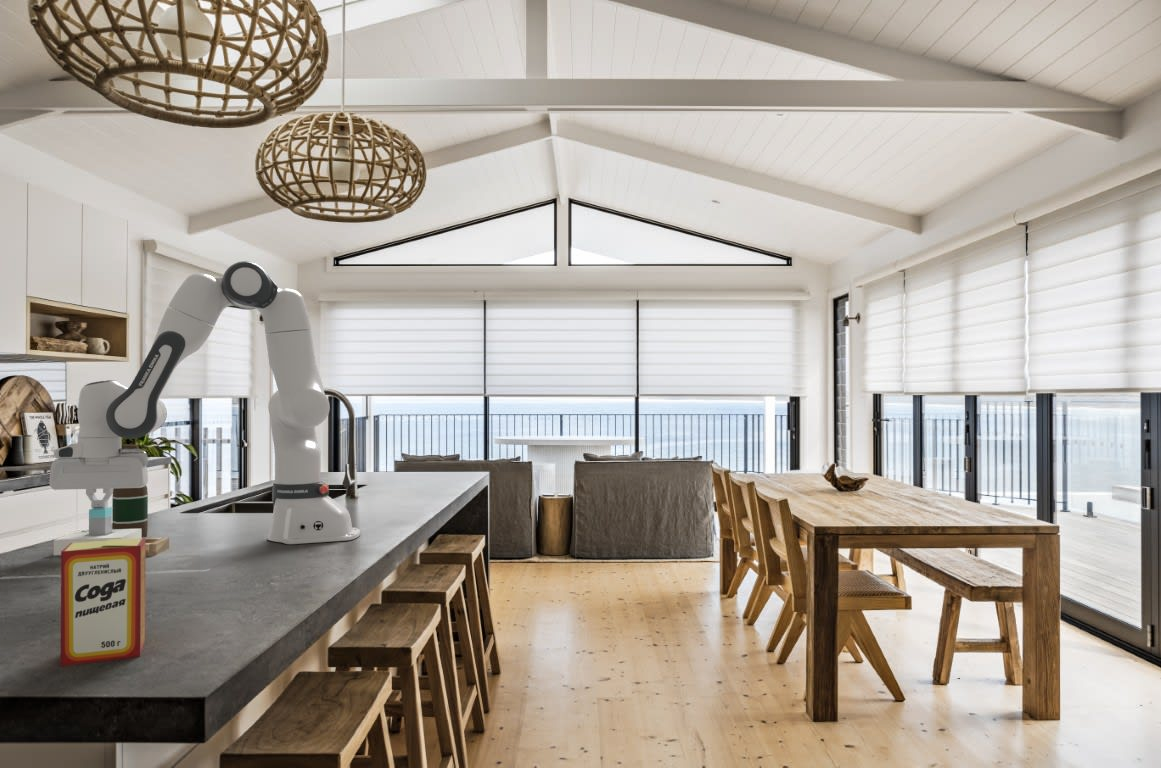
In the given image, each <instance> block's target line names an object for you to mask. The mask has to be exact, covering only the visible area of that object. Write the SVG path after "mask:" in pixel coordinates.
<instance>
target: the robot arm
mask: <svg viewBox="0 0 1161 768" xmlns="http://www.w3.org/2000/svg"><path fill="white" fill-rule="evenodd" d="M226 308H232V309H239V310H246V311H247V310H250V311H251V310H257V311H258V312H259V313H260V315H261V317H262V320H263V321H262V322H263V325H264V326H263V327H264V333H265V342H266V349H267V358H268V365H269V367H270V369H271V372H272V374H273V377H274V380H275V384H276V386H277V387H276V388H277V391H275V392H274V393H273V394H272V395H271V396H270V399H269V401H268V405H267V406H268V407H267V408H268V414H269V418H270V427H271V436H272V441H273V447H274V449H273V450H274V483H273V484H272V485H273V486H272V493H271V495H272V497H271V499H272V505H273V513H272V520H271V525H270V529H269V533H268V536H267V540H268V541H271V542H275V543H283V544H284V545H285V544H286V545H298V544H311V543H312V544H313V543H327V542H343V541H345V542H346V541H351V540H355V539H357V538H359V536H360V535H361V530H360V528H359V527H358V528H357V527H353V526H352V524H353V523H352V519H351V515H350V512H349V510H348V509H347V507H345V506H343V505H342V504H340V503H339V502H338V501H336V500H335V499H333V498H332V497H331V496H329V493H330V489H329V488H330V487H329V483H326V482H324V481H322V480H321V479H322V478H321V477H322V476H321V472H322V471H321V463H322V462H321V459H322V458H321V449H320V446H319V444H318V437H317V433H316V427H317V426H319V425H320V424H323V422H324V421H325V420H326V419H327V418H328V416H329V413H330V406H331V405H330V401H329V399H328V397H327V395H326V393H325V390H324V385H323V382H322V379H321V375H320V372H319V370H318V369H319V368H318V366H317V361H316V357H315V350H314V341H313V335H312V327H311V320H310V316H309V312H308V309H307V305H306V302H305V299H304V296H303V295H302V293H300V292H299V291H297V290H296V289H292V288H287V287H284V288H283V287H282V288H281V287H278V285H277V284H276V282H275V281H274V280H273V278H272V277H271V276H270V275H269V273H268V272H267V271H266V270H265V269H264V267H262V266H261V265H259V264H258V263H256V262H252V261H248V260H247V261H245V260H244V261H238V262H235V263H234V264H231V265H229V267H228V268H227V269H226V270H225V271H224V274H223V276H221V277H215V276H212V275H210V274H208V273H207V274H206V273H204V272H203V273H202V272H201V273H200V272H197V273H192V274H190V275H189V276H188V277H187V278H185V280H184V281H183V282H182V284H181V285H180V286H179V288H178V289H177V291H176V292H175V293H174V295H173V296H172V298H171V300H170V302H169V304H168V306H167V308H166V309H165V312H164V313H163V316H162V318H161V321H160V323H159V326H158V329H157V332H156V335H155V338H154V339H153V343H152V345H151V347H150V350H149V352H148V354H147V356H146V357H145V359H144V361H143V362H142V365H141V366H140V368H139V369H138V372H137V373H136V375H135V377H134V379H133V380H132V383H131V384H130V385H129V387H127V386H125V385H123V384H121V383H120V382H119V381H117V380H113V379H111V380H109V379H108V380H100V381H95V382H94V381H92V382H89V383H86V384H85V385H83V386H82V388H81V390H80V392H79V397H78V405H77V420H78V421H77V422H78V424H79V431H78V434H77V442H76V443H70V444H68V445H66V446H63V447H59V448H56V449H54V451H53V457H54V458H55V459H54V460H53V461H52V463H51V466H50V471H49V482H48V483H49V487H50V488H51V489H52V490H55V491H56V490H60V491H61V490H62V491H63V490H64V491H65V490H85V495H86V496H87V497H88V500H89V501H90V503H91V504H90V505H91V506H90V509H93V508H107V507H109V500H110V498H111V497H112V496H113V489H114V488H141V487H144V486H145V485H146V486H147V484H148V483H149V478H148V477H149V476H148V474H149V473H148V468H147V465H148V454H147V452H146V451H144V450H142V449H141V448H139V449H122V447H123V445H122V440H123V439H128V440H135V439H136V440H137V439H140V438H142V437H144V436H146V435H149V434H151V433H153V432H156V431H158V430H159V429H160V428H161V427H162V426H163V425H164V423H166V419H167V415H168V413H167V408H166V406H165V404H164V402H163V401H162V400H160V396H161V395H162V392H163V391H164V389H165V387H166V385H167V383H168V381H169V379H170V377H171V376H172V374H173V373H174V370H175V369H176V368H177V366H178V365H179V364H180V363H181V362H182V361H183V360H185V359H186V358H187V357H189V356H190V355H192V354H194V353H196V352H197V351H199V350H200V349H201V347H202V346H203V345H204V343H205V342H206V341H207V339H209V337H210V336H211V333H212V331H213V330H214V327H215V326H216V323H217V321H218V319H219V317H220V315H221V314H222V312H223V311H224V310H225V309H226ZM122 438H123V439H122ZM129 453H132V454H129ZM101 489H102V493H103V494H104V496H103V497H102V499H98V498H97V496H96V494H95V493H97V490H101Z"/></svg>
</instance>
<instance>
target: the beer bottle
mask: <svg viewBox="0 0 1161 768" xmlns="http://www.w3.org/2000/svg"><path fill="white" fill-rule="evenodd" d="M139 447H140V446H139V445H138V444H135V443H134V444H133V443H132V444H131V443H130V444H123V445H122V449H140V448H139ZM129 454H132V453H129ZM148 495H149V494H148V487H147V484H146V485H145V486H144V487H141V488H113V493H112V495H111V497H112V499H111V500H112V501H111V503H112V506H111V507H112V529H142V538H148V530H149V529H148V528H149V527H148V526H149V525H148V523H149V522H148V520H149V519H148V518H149V517H148V515H149V511H148V510H149V508H148V507H149V504H148V503H149V501H148V500H149V499H148V498H149V496H148Z"/></svg>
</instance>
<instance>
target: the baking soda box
mask: <svg viewBox="0 0 1161 768" xmlns="http://www.w3.org/2000/svg"><path fill="white" fill-rule="evenodd" d="M146 538H147V537H143V538H130V539H108V540H107V541H93V542H78V543H70V544H69V545H68V546H67V547H66V548H64V549H63V550H62V551H61V555H60V661H59V662H60V665H59V666H60V667H65V666H67V667H68V666H73V665H81V664H91V663H96V662H97V663H99V662H107V661H114V660H121V659H123V660H124V659H129V658H138V657H141V655H142V653H143V650H144V647H145V645H146V556H145V551H146Z"/></svg>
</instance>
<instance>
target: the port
mask: <svg viewBox="0 0 1161 768" xmlns="http://www.w3.org/2000/svg"><path fill="white" fill-rule="evenodd" d="M130 538H142V529H112V533H111V534H109V535H105V536H89V529H81V530H78V529H77V531H73V532H71V533H68V534H66V535H63V536H60V537H57V538H55V539H53V556H61V551H62V550H63V549H64V548H66V547H67V546H68V545H69V544H70V543H78V542H93V541H107V540H108V539H130Z"/></svg>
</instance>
